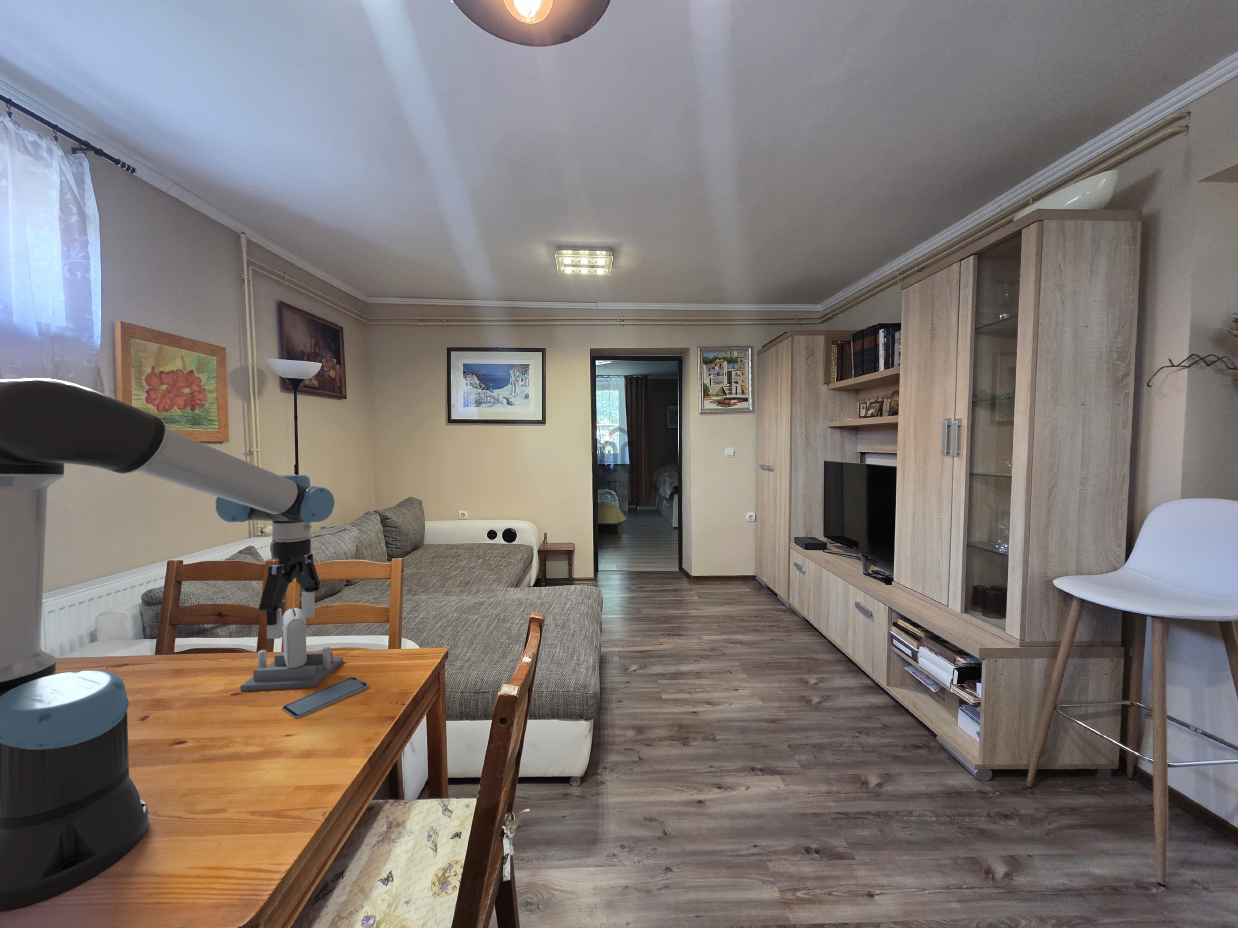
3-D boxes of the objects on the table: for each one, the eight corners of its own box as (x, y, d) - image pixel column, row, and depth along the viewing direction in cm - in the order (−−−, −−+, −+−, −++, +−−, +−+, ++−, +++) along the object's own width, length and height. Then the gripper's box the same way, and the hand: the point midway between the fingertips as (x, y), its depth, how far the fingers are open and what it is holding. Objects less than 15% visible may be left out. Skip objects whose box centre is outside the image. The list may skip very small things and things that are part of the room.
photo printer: (282, 655, 115) (281, 606, 114) (303, 650, 118) (302, 602, 117) (285, 670, 107) (284, 618, 106) (308, 665, 110) (306, 613, 109)
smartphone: (280, 706, 98) (352, 676, 111) (280, 711, 98) (352, 679, 111) (296, 717, 94) (369, 684, 107) (296, 722, 94) (369, 688, 107)
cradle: (315, 686, 107) (315, 660, 106) (240, 690, 105) (239, 663, 105) (343, 661, 120) (342, 637, 119) (276, 664, 118) (275, 640, 118)
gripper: (276, 549, 99) (276, 647, 99) (334, 530, 124) (334, 609, 124) (238, 549, 98) (238, 648, 99) (304, 531, 123) (305, 610, 123)
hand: (292, 627), depth 111 cm, fingers open, 13 cm apart
